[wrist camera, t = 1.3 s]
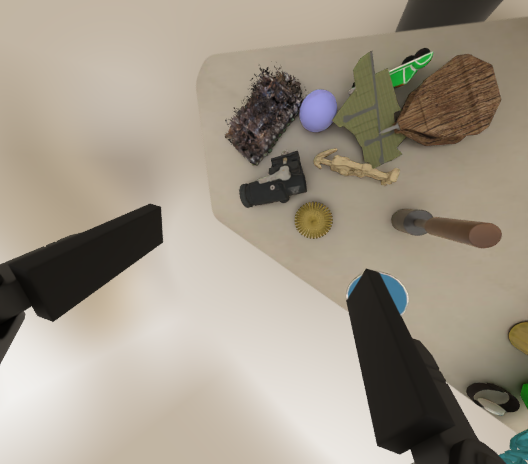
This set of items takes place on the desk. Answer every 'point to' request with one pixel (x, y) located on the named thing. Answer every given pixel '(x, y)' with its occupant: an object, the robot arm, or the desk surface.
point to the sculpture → (313, 220)
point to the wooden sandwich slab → (450, 103)
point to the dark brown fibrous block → (265, 115)
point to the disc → (394, 289)
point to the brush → (447, 228)
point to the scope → (276, 182)
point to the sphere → (318, 110)
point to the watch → (488, 405)
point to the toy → (354, 168)
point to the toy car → (407, 68)
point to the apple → (524, 394)
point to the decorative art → (514, 457)
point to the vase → (520, 337)
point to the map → (372, 113)
